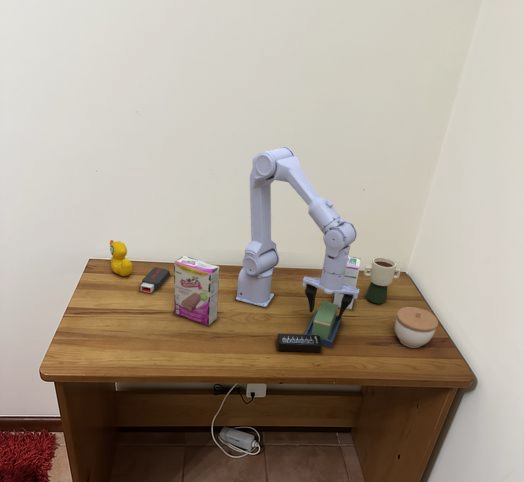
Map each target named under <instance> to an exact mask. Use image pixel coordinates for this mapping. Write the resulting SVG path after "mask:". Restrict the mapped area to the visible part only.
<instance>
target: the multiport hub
mask: <svg viewBox="0 0 524 482" xmlns="http://www.w3.org/2000/svg"><path fill="white" fill-rule="evenodd" d="M276 343H277V350H278V351H280V352H302V353H321V351H322V347H323V345H322V343H321V339H320V336H319V335H304V334H302V333H301V334H299V333H298V334H296V333H277V339H276Z"/></svg>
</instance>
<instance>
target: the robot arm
mask: <svg viewBox="0 0 524 482" xmlns="http://www.w3.org/2000/svg"><path fill="white" fill-rule="evenodd" d="M275 181H279V182H284V183H288V184H289V185H290V187H292V189H293V190H294V191H295V192H296V193H297V194H298V195H299V196H300V198H301V199H302V200H303V201H304V203H306V205H307V206H308V211H307V212H308V213H307V214H308V215H309V217H310V218H311V219H312V220H313V222H314V223H315V224H316V226H317V227H318V228H319V230H320V231H321V233H322V234H323V236H322V238H323V243H324V245H325V253H324V258H323V265H322V269H321V270H322V271H321V275H320V277H313V276H311V277H310V276H305V275H304V277H303V279H302V287H305V289H304V294H305V296H306V298H307V302H308V306H309V307H308V308H309V313H311V314H312V313H314V312H313V311H314V310H315V307H316V306H315V305H316V297H317V292H318V289H319V290H321V291H323V293H324V294H327V295H332V294H335V293H339V294H343V295H344V296H343V298H342V301H341V308H339V312H338V315H337V316H338V320H340V319H341V317H342V318H343V313H344V312H345V311H346V310H347V309H346V308H347V307H348V306H349V305H350V303H351V302H352V299H353V298H354V300H358V297H359V294H360V288H357V287H356V288H353V287H351V286H349V285H346V284H344V283H343V280H344V275H345V270H346V265H347V260H348V256H350V255H349V254H350V250H351V245H352V244H353V243H354V242H355V241H356V240H357V234H358V233H357V229H356V227H355V226H354V224H353V223H352V222H351V221H348V220H345V219H344V218H343V217H341V215H340V214H339V213H338V212H337V211H338V210H337V209H336V208H335V207H334V203H333V202H332V201H331V200H329V199H328V198H326V197H321V196H320V195H319V193H318V192H317V190H316V189H315V188H314V186H313V184H312V183H311V181H310V179H309V178H308V176H307V175H306V173H305V172H304V170H303V169H302V168H301V165H300V159H299V158H298V156H297V155H295V152H294V151H293V150H292V148H290V147H288V146H282V147H279V148H276V149H275V148H274V149H271V150H267V151H261V152H259V153H258V154H256V155H255V156H254V157H253V158H252V169H251V171H250V173H249V203H250V205H249V207H250V242H249V243H248V245H246V248H245V249H244V256H243V259H242V268H241V269H240V271H239V274H238V277H237V288H236V297H235V300H236V301H238V302H243V303H245V304H246V303H247V304H251V305H254V306H258V307H262V308H267V307H268V305H269V304H270V302H271V301H272V299H273V298H274V296H275V293H273V292H271V289H272V282H273V281H272V280H273V272H274V271H275V267H276V266H278V264H279V262H280V256H279V255H280V254H279V252H278V249H277V243H276V242H275V241H273V240H272V195H271V194H272V193H271V192H272V191H271V190H272V189H271V188H272V187H271V185H272V183H273V182H275Z"/></svg>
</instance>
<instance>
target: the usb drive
mask: <svg viewBox="0 0 524 482" xmlns="http://www.w3.org/2000/svg"><path fill="white" fill-rule="evenodd" d="M170 276H171V271H170V270H169V269H167V268H162V267H157V266H155V267H152V269H151V270H150V271H149V272H148V273H147V274H146V275H145V276H144V277H143V278H142V279H141V285H139V286H140V292H144V293H149V294H152V293H153V292H155V291H158V290H160V288H161V287H162V286H163V285H164V284H165V283H166V281H168V279H169V278H170Z"/></svg>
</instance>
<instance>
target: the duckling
mask: <svg viewBox="0 0 524 482" xmlns="http://www.w3.org/2000/svg"><path fill="white" fill-rule="evenodd" d="M109 251H110V254H111V256H112V257H111V258H110V268H111V271H113V272H114V273H115V274H118V275H119V276H122V277H127V276H130V275H131V274H132V273H133V268H134V265H133V263H132V262H131V260H130V259H129V258H126V256H127V254H128V248H127V246H126V244H125V243H124V242H122V241H120V240H117V241H114V240H113V239H111V240H109Z"/></svg>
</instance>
